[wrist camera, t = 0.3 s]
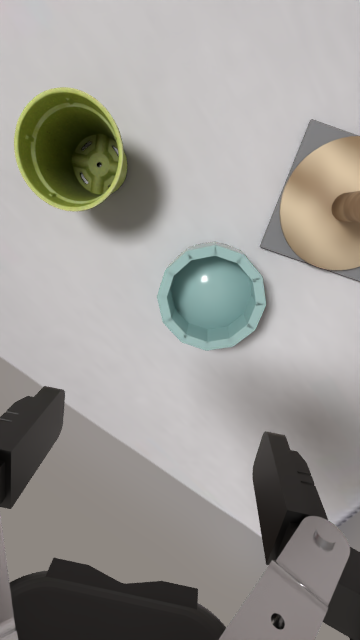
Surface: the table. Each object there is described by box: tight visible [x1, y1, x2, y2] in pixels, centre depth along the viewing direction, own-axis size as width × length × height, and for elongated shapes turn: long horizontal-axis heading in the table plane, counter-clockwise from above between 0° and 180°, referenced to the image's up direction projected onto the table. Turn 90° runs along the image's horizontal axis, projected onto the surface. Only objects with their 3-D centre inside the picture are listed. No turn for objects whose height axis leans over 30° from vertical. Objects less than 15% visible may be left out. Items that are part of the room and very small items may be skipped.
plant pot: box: [14, 87, 127, 211], centre depth 32 cm, size 9×9×9 cm
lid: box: [279, 136, 360, 270], centre depth 31 cm, size 13×13×7 cm
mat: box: [260, 119, 360, 281], centre depth 35 cm, size 13×13×1 cm
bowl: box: [157, 242, 266, 351], centre depth 37 cm, size 11×11×5 cm
